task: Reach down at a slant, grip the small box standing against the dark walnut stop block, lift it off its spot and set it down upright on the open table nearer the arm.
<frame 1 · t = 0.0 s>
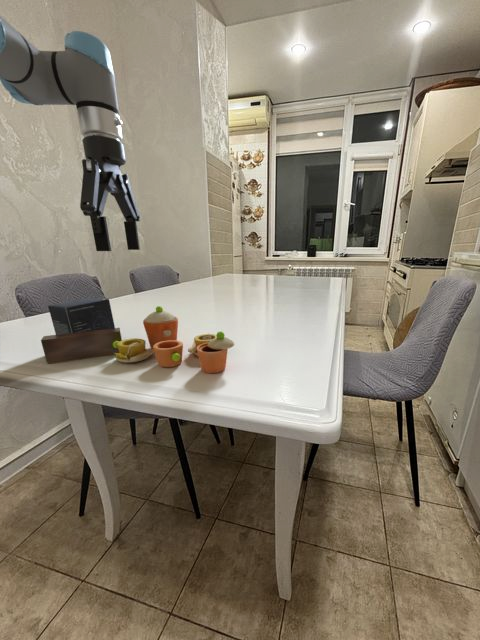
hand: (120, 250, 66), 21 cm above the table, tool pointing down, fingers open, 13 cm apart
box: (90, 346, 68), on the table
stop block: (87, 355, 62), on the table
toy tea set: (181, 357, 62), on the table
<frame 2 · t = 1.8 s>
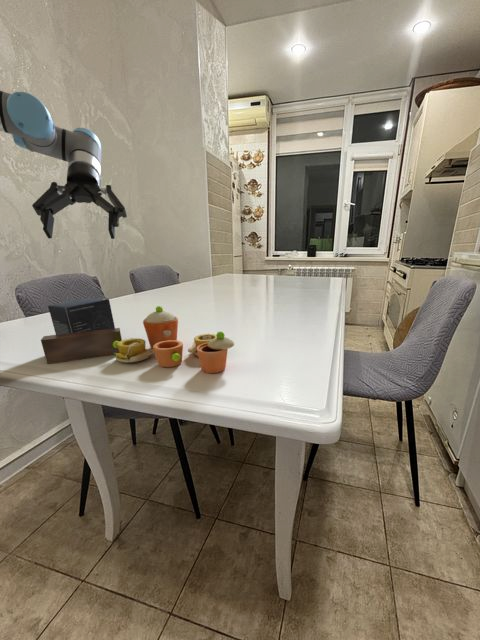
hand: (80, 234, 69), 25 cm above the table, tool tilted 45°, fingers open, 13 cm apart
nothing on the table moved.
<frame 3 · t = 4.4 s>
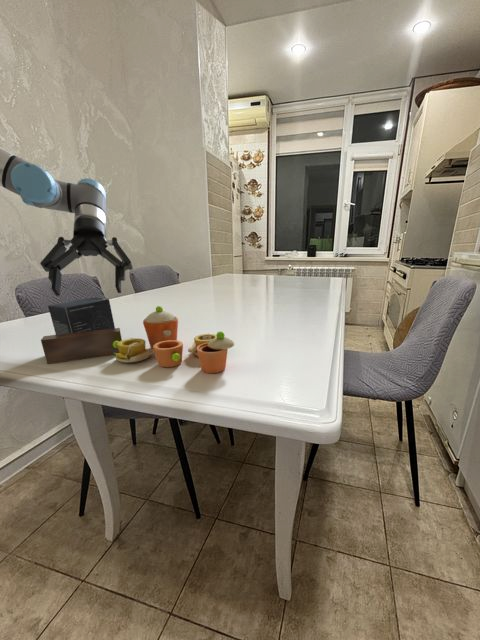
hand: (87, 291, 70), 12 cm above the table, tool tilted 45°, fingers open, 13 cm apart
nothing on the table moved.
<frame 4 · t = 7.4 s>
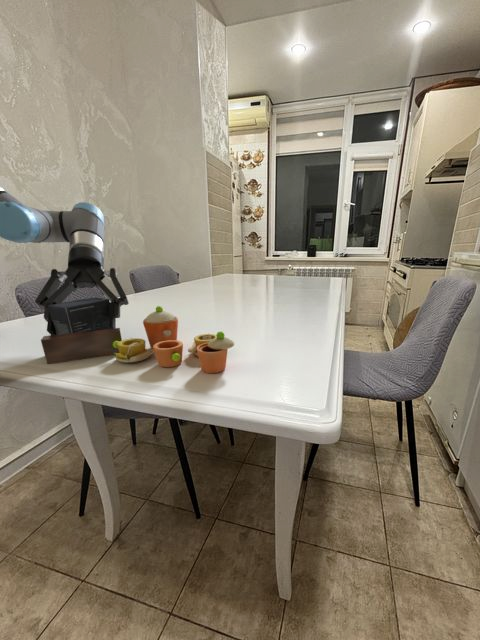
hand: (82, 331, 64), 4 cm above the table, tool tilted 45°, fingers closed on box, 11 cm apart
box: (90, 346, 68), on the table, touching gripper
everything else where it was.
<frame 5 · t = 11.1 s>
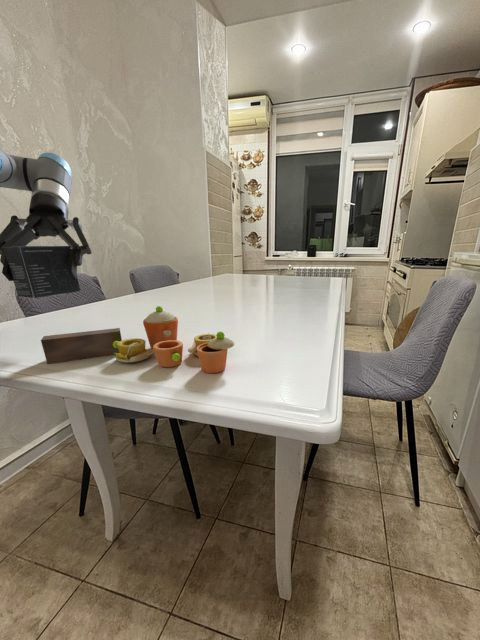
hand: (40, 276, 63), 16 cm above the table, tool tilted 45°, fingers closed on box, 11 cm apart
box: (50, 294, 67), point 11 cm above the table, touching gripper
everything else where it was.
when the fingers open (4 cm above the table, at t = 15.3 s): box stays where it is, on the table.
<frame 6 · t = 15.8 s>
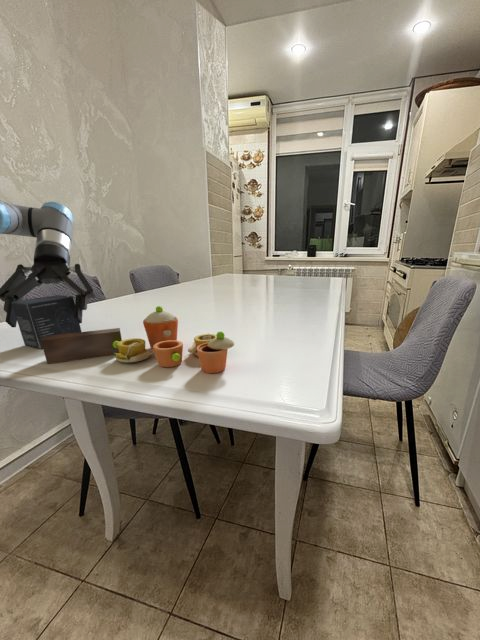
hand: (45, 322, 68), 5 cm above the table, tool tilted 45°, fingers open, 13 cm apart
box: (54, 341, 72), on the table
everything else where it was.
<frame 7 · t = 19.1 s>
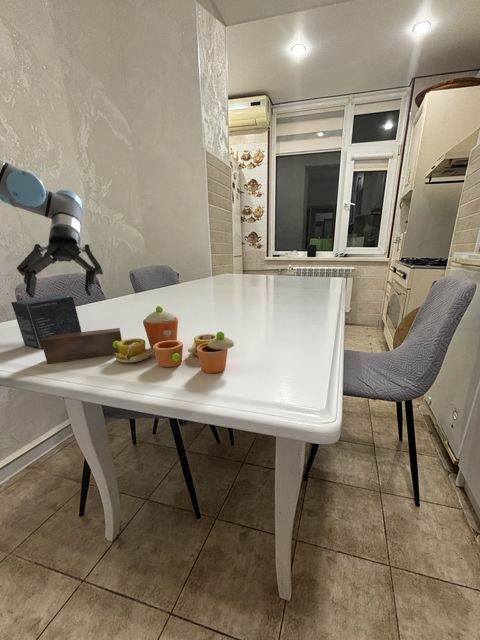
hand: (59, 293, 78), 10 cm above the table, tool tilted 45°, fingers open, 13 cm apart
nothing on the table moved.
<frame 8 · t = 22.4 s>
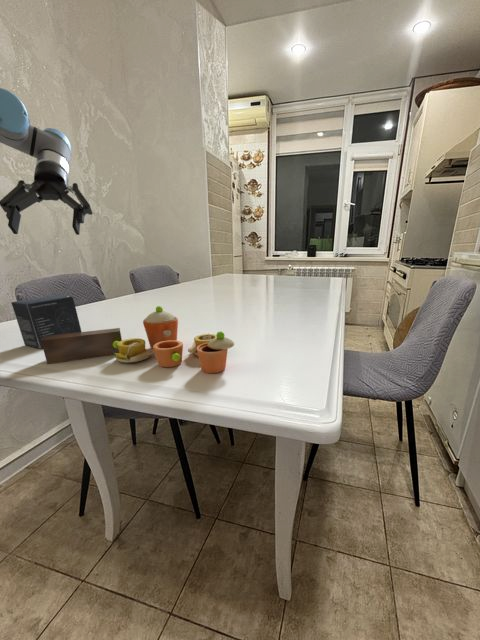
hand: (45, 230, 72), 26 cm above the table, tool tilted 45°, fingers open, 13 cm apart
nothing on the table moved.
at the end: box inside the target area (0.2 cm from its centre), on the table; box tilted 0°; the gripper is holding nothing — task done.
